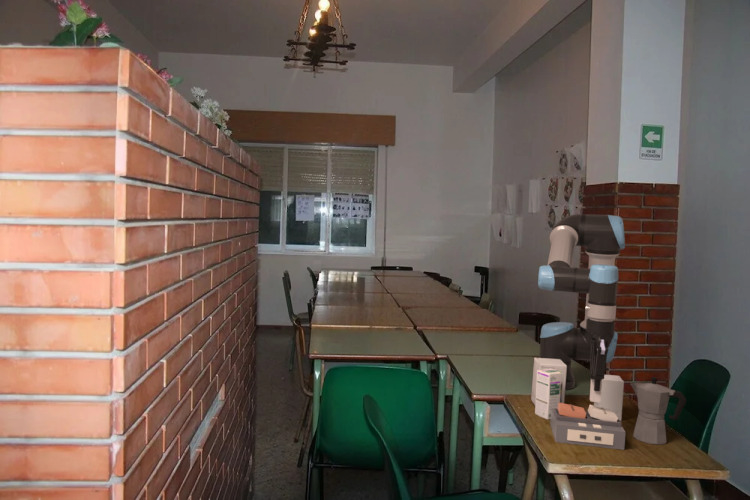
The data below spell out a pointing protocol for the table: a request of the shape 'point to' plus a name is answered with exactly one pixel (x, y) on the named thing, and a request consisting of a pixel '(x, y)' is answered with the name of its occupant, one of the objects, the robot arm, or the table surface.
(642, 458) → the table surface
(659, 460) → the table surface
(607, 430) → the console
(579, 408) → the rocker
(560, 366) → the supplement box
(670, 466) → the table surface
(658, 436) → the coffeepot
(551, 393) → the syrup box
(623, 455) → the table surface
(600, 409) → the rocker
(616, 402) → the supplement box
